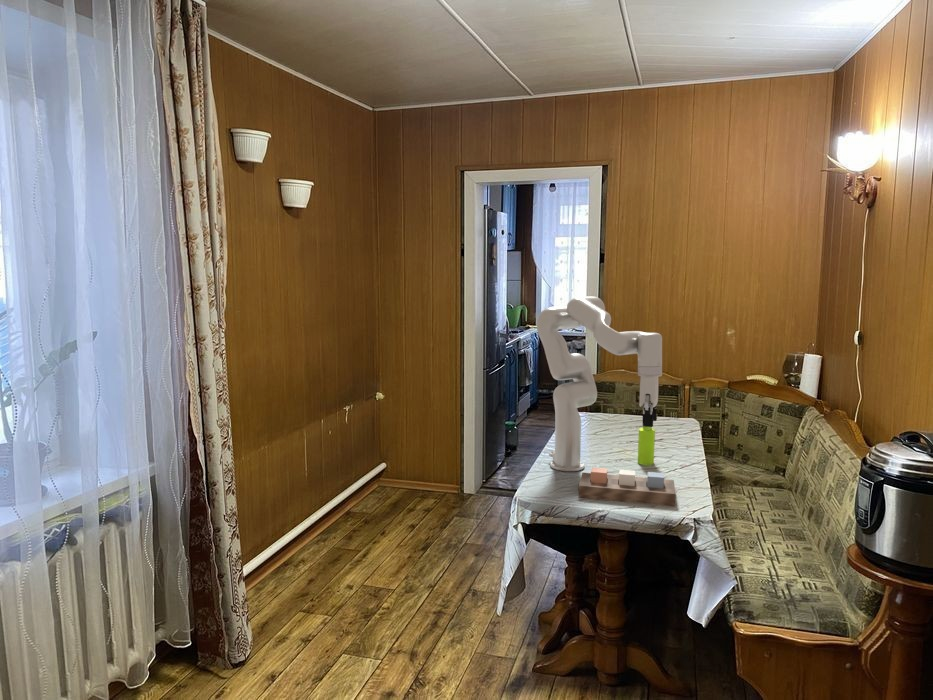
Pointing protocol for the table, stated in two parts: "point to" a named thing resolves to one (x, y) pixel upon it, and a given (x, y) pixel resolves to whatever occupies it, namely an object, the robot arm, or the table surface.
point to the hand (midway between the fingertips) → (649, 423)
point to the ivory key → (627, 477)
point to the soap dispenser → (646, 446)
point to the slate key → (655, 480)
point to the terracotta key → (599, 475)
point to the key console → (627, 491)
